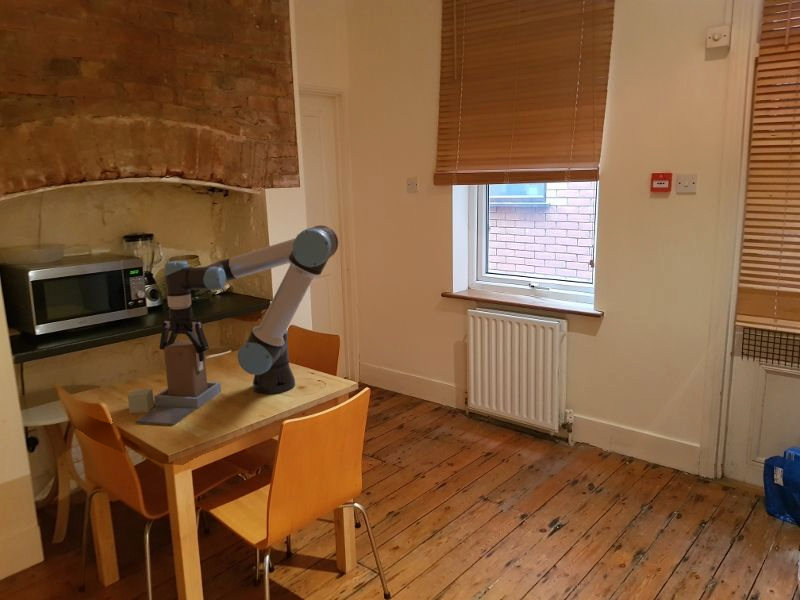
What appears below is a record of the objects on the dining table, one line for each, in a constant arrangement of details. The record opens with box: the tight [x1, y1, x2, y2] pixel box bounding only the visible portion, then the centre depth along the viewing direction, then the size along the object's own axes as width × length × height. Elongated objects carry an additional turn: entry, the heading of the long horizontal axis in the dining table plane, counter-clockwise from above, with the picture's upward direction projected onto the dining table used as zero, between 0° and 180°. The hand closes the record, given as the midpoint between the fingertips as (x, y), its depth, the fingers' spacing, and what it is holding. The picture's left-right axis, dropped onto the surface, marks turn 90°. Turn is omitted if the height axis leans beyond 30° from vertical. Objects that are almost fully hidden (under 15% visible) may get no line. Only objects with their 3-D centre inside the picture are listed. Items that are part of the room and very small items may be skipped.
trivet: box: [135, 406, 196, 427], centre depth 200 cm, size 13×13×1 cm
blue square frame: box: [153, 381, 222, 409], centre depth 215 cm, size 16×16×4 cm
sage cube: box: [127, 388, 155, 414], centre depth 206 cm, size 6×6×6 cm
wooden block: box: [163, 339, 208, 397], centre depth 213 cm, size 10×10×20 cm
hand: (186, 369), depth 213 cm, fingers closed on wooden block, 10 cm apart
